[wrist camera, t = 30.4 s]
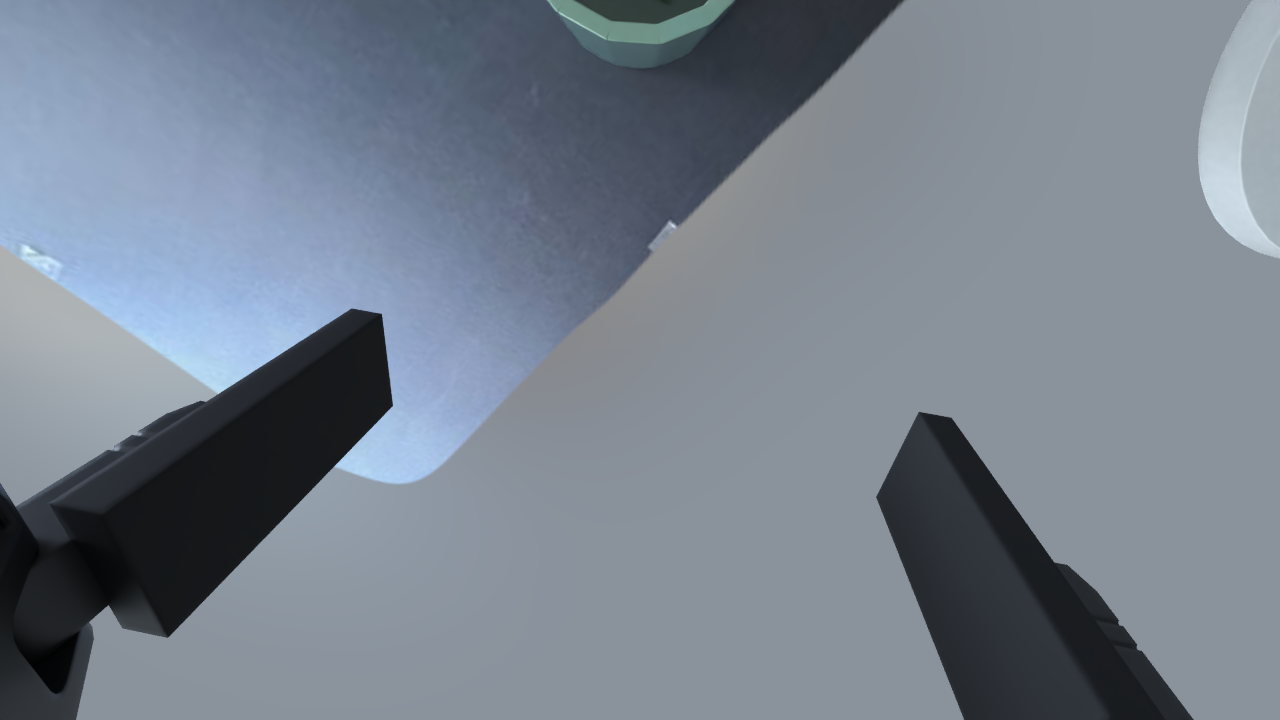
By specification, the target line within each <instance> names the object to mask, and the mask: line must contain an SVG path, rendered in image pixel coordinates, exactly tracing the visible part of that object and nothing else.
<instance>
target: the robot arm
mask: <svg viewBox="0 0 1280 720" xmlns="http://www.w3.org/2000/svg"><path fill="white" fill-rule="evenodd" d="M392 406H393V402H392V394H391V386H390V378H389V369H388V361H387V353H386V344H385V336H384V328H383V319H382V314H379V313H373V312H368V311H362V310H357V309H350V310H349V311H347V312H346V313H344V314H343V315H341V316H339V317H338V318H336V319H335V320H333V321H332V322H330V323H329V324H327V325H325V326H324V327H322V328H321V329H319V330H318V331H316V332H315V333H313V334H311V335H310V336H308V337H307V338H305V339H304V340H302V341H300V342H299V343H297V344H296V345H294V346H293V347H291V348H290V349H288V350H286V351H285V352H283V353H282V354H280V355H279V356H277V357H276V358H274V359H272V360H271V361H269V362H268V363H266V364H265V365H263V366H262V367H260V368H258V369H257V370H255V371H254V372H252V373H251V374H249V375H248V376H246V377H244V378H243V379H241V380H240V381H238V382H237V383H235V384H234V385H232V386H230V387H229V388H227V389H226V390H224V391H223V392H221V393H219V394H218V395H216V396H215V397H213V398H212V399H210V400H209V401H207V402H204V401H199V402H196V403H194V404H191V405H189V406H186V407H183V408H181V409H178V410H176V411H173V412H170V413H167V414H165V415H164V416H162V417H161V418H159V419H157V420H156V421H154V422H152V423H151V424H149V425H148V426H146V427H144V428H143V429H141V430H139V431H138V434H137V435H136V436H135V435H131V436H130V437H128V438H127V439H125V440H123V441H122V442H120V443H118V444H117V445H115V446H114V449H113V450H112V451H111V450H107V451H106V452H104V453H102V454H101V455H99V456H97V457H96V458H94V459H93V460H91V461H89V462H88V463H86V464H84V465H83V466H81V467H79V468H78V469H76V470H75V471H73V472H71V473H70V474H68V475H67V476H65V477H63V478H62V479H60V480H58V481H57V482H55V483H54V484H52V485H50V486H49V487H47V488H45V489H44V490H42V491H41V492H39V493H37V494H36V495H34V496H33V497H31V498H29V499H28V500H26V501H24V502H23V503H21V504H20V505H18V506H16V507H15V506H14V504H13V502H12V501H11V499H10V498H9V496H8V495H7V493H6V491H5V490H4V488H3V487H2V485H1V484H0V720H76V717H77V712H78V708H79V703H80V698H81V694H82V690H83V685H84V681H85V676H86V672H87V667H88V662H89V658H90V653H91V649H92V644H93V640H94V637H93V629H92V626H91V624H90V623H89V621H91V620H92V619H93V618H94V617H95V616H96V615H97V614H99V613H100V612H101V611H102V610H103V609H104V608H105V607H107V606H108V605H109V606H110V608H111V610H112V611H113V613H114V615H115V616H116V618H117V620H118V622H119V623H120V625H121V626H122V628H124V629H129V630H134V631H138V632H143V633H148V634H153V635H157V636H162V637H167V638H168V637H169V636H170V635H171V634H172V633H173V632H174V631H175V630H176V629H177V628H178V627H179V626H180V625H181V624H182V623H183V622H184V621H185V620H186V619H187V618H188V617H189V616H190V615H191V613H192V612H193V611H194V610H195V609H196V608H197V607H198V606H199V605H200V604H201V603H202V602H203V601H204V600H205V599H206V598H207V597H208V596H209V595H210V594H211V593H212V592H213V591H214V590H215V589H216V588H217V587H218V585H220V583H221V582H222V581H223V580H224V579H225V578H226V577H227V576H228V575H229V574H230V573H231V572H232V571H233V570H234V569H235V568H236V567H237V566H238V565H239V564H240V563H241V562H242V561H243V560H244V559H245V558H246V557H247V556H248V555H249V554H250V553H251V552H252V551H253V550H254V548H255V547H256V546H257V545H258V544H259V543H260V542H261V541H262V540H263V539H264V538H265V537H266V536H267V535H268V534H269V533H270V532H271V531H272V530H273V529H274V528H275V527H276V526H277V525H278V524H279V523H280V522H281V521H282V520H283V519H284V518H285V517H286V516H287V515H288V513H289V512H290V511H291V510H292V509H293V508H294V507H295V506H296V505H297V504H298V503H299V502H300V501H301V500H302V499H303V498H304V497H305V496H306V495H307V494H308V493H309V492H310V491H311V490H312V489H313V488H314V487H315V486H316V484H318V483H319V482H320V480H321V479H322V478H323V477H324V476H325V475H326V474H327V473H328V472H329V471H330V470H331V469H332V468H333V467H334V466H335V465H336V464H337V463H338V462H339V461H340V460H341V459H342V458H343V457H344V456H345V455H346V454H347V453H348V452H349V451H350V450H351V449H352V447H353V446H354V445H355V444H356V443H357V442H358V441H359V440H360V439H361V438H362V437H363V436H364V435H365V434H366V433H367V432H368V431H369V430H370V429H371V428H372V427H373V426H374V425H375V424H376V423H377V422H378V421H379V420H380V419H381V418H382V417H383V416H384V414H385V413H386V412H387V411H388V410H389V409H390V408H391V407H392ZM876 498H877V500H878V503H879V505H880V508H881V510H882V513H883V515H884V518H885V520H886V523H887V525H888V528H889V531H890V533H891V536H892V538H893V541H894V543H895V546H896V548H897V551H898V553H899V556H900V558H901V561H902V563H903V566H904V568H905V571H906V574H907V576H908V579H909V581H910V583H911V586H912V589H913V591H914V594H915V596H916V599H917V601H918V604H919V606H920V609H921V612H922V614H923V617H924V619H925V621H926V624H927V627H928V629H929V632H930V634H931V637H932V639H933V642H934V644H935V647H936V649H937V652H938V654H939V657H940V660H941V662H942V665H943V667H944V670H945V672H946V674H947V677H948V680H949V682H950V685H951V687H952V690H953V692H954V695H955V697H956V700H957V702H958V705H959V708H960V710H961V713H962V715H963V717H964V720H1193V718H1192V717H1191V716H1190V714H1189V713H1188V712H1187V711H1186V709H1185V708H1184V706H1183V705H1182V704H1181V702H1180V701H1179V700H1178V699H1177V697H1176V696H1175V694H1174V693H1173V692H1172V690H1171V689H1170V688H1169V687H1168V685H1167V684H1166V683H1165V681H1164V680H1163V678H1162V677H1161V676H1160V675H1159V673H1158V672H1157V671H1156V669H1155V668H1154V667H1153V666H1152V664H1151V663H1150V661H1149V660H1148V659H1147V657H1146V656H1145V655H1144V653H1143V652H1142V651H1139V650H1137V647H1136V646H1137V644H1136V643H1135V641H1134V640H1133V639H1132V637H1131V636H1130V635H1129V633H1128V632H1127V631H1126V629H1125V628H1124V627H1123V626H1119V624H1118V621H1119V620H1118V619H1117V618H1116V616H1115V615H1114V613H1113V612H1112V611H1111V610H1110V609H1109V607H1108V606H1107V604H1106V603H1105V602H1104V600H1103V599H1102V597H1101V596H1100V595H1099V594H1098V592H1097V591H1096V590H1095V589H1093V588H1092V587H1091V586H1090V585H1089V584H1088V583H1087V582H1086V581H1085V580H1083V579H1082V578H1081V577H1080V576H1079V575H1078V574H1077V573H1076V572H1075V571H1073V570H1072V569H1071V568H1070V567H1069V566H1068V565H1064V564H1059V563H1054V562H1053V560H1052V559H1051V557H1050V556H1049V555H1048V553H1047V552H1046V550H1045V549H1044V548H1043V546H1042V545H1041V543H1040V542H1039V541H1038V539H1037V538H1036V536H1035V535H1034V534H1033V532H1032V531H1031V529H1030V528H1029V526H1028V525H1027V524H1026V522H1025V521H1024V519H1023V518H1022V517H1021V515H1020V514H1019V512H1018V511H1017V509H1016V508H1015V507H1014V505H1013V504H1012V502H1011V501H1010V500H1009V498H1008V497H1007V495H1006V494H1005V493H1004V491H1003V490H1002V488H1001V487H1000V485H999V484H998V483H997V481H996V480H995V479H994V477H993V476H992V474H991V473H990V471H989V470H988V469H987V467H986V466H985V464H984V463H983V461H982V460H981V459H980V457H979V456H978V455H977V453H976V452H975V450H974V449H973V447H972V446H971V445H970V443H969V442H968V440H967V439H966V438H965V436H964V435H963V433H962V432H961V431H960V429H959V428H958V426H957V425H956V423H955V422H954V421H953V420H952V418H949V417H944V416H938V415H933V414H927V413H922V412H919V413H918V415H917V417H916V419H915V421H914V423H913V425H912V427H911V429H910V431H909V433H908V435H907V437H906V439H905V441H904V443H903V445H902V447H901V449H900V451H899V453H898V455H897V457H896V459H895V461H894V463H893V465H892V467H891V469H890V471H889V473H888V475H887V477H886V479H885V481H884V483H883V485H882V487H881V489H880V491H879V493H878V495H877V497H876Z"/></svg>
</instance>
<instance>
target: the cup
mask: <svg viewBox="0 0 1280 720" xmlns="http://www.w3.org/2000/svg"><path fill="white" fill-rule="evenodd" d="M546 1H547V3H548V4H549V5H550V6H551V8H552V9H553V10H554V12H555V13H556V14H557V16H558V17H559V18H560V19H561V21H562V22H563V23H564V24H565V26H566V27H567V28H568V29H569V30H570V32H571V33H572V34H573V35H574V37H575V38H576V39H577V40H578V42H579V43H580V44H581V45H582V46H583V47H584V48H585V49H587V50H589V51H590V52H592V53H593V54H595V55H597V56H598V57H600V58H601V59H604V60H606V61H608V62H610V63H612V64H614V65H617V66H622V67H629V68H655V67H657V66H661V65H664V64H667V63H670V62H672V61H674V60H676V59H678V58H680V57H682V56H685V55H687V54H688V53H689V52H690V51H691V50H692V49H693V48H694V47H695V46H696V45H698V44H699V43H700V42H701V41H702V40H703V38H704V37H705V36H706V35H707V34H708V33H709V32H710V31H711V30H712V29H713V28H714V27H715V26H716V25H717V24H718V23H719V22H720V21H721V19H722V18H723V17H724V16H725V15H726V13H727V12H728V11H729V10H730V9H731V8H732V6H733V5H734V4H735V3H736V2H737V1H738V0H546Z"/></svg>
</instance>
